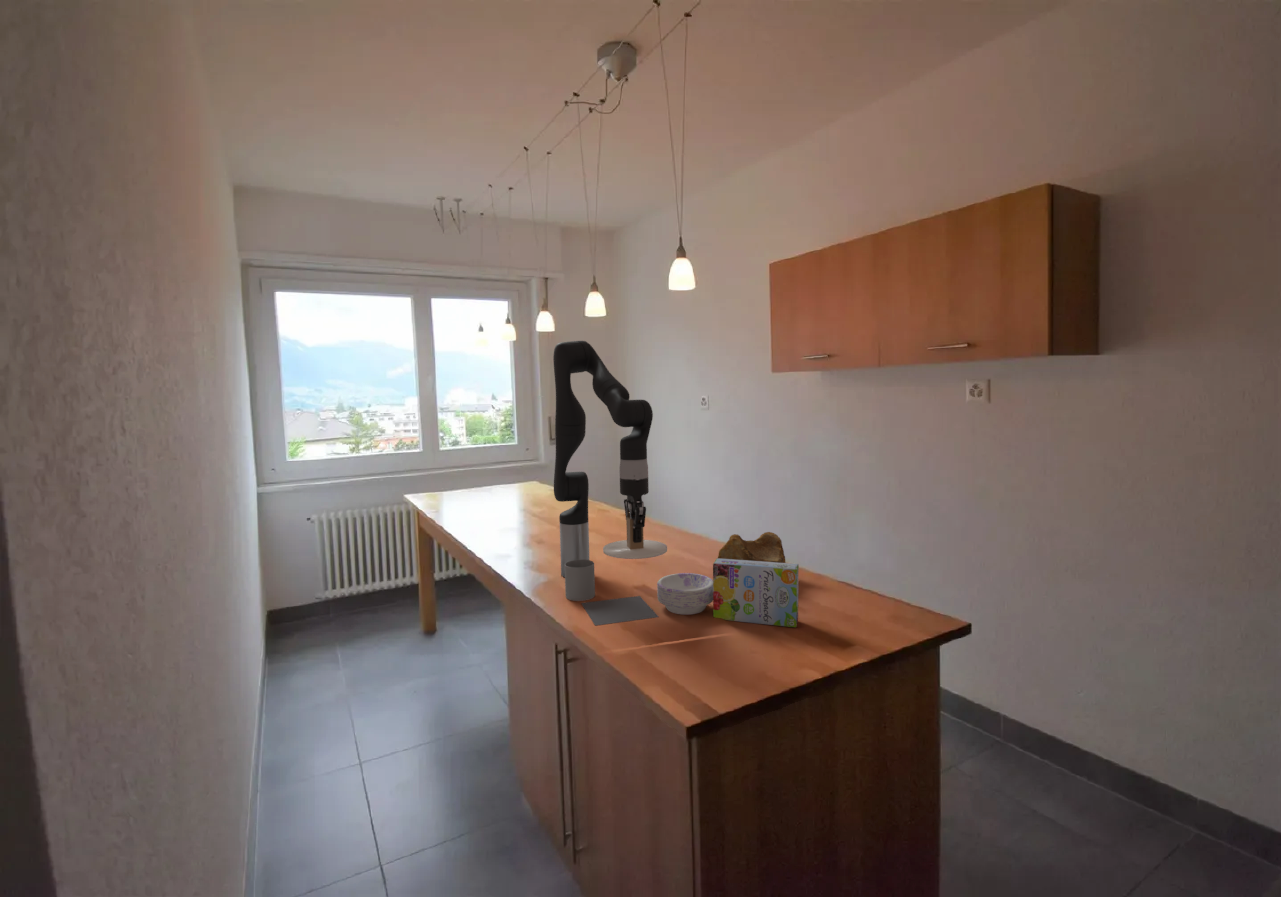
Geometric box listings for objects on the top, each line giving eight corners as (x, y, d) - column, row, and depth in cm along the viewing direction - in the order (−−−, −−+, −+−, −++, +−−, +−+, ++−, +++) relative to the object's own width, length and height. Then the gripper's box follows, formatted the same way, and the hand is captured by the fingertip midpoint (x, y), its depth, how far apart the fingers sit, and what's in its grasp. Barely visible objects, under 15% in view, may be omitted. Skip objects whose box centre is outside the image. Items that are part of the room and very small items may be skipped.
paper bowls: (649, 615, 162) (648, 586, 161) (668, 597, 176) (668, 570, 175) (705, 623, 156) (704, 593, 155) (720, 603, 170) (720, 575, 169)
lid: (597, 545, 169) (596, 513, 168) (656, 540, 173) (655, 509, 173) (611, 561, 153) (610, 526, 152) (676, 555, 157) (675, 521, 156)
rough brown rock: (745, 602, 173) (750, 551, 170) (708, 582, 187) (712, 534, 184) (803, 589, 185) (808, 541, 183) (765, 571, 199) (769, 526, 197)
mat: (581, 604, 171) (581, 603, 171) (639, 597, 176) (639, 595, 176) (595, 627, 155) (595, 625, 155) (659, 618, 160) (659, 616, 160)
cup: (590, 603, 172) (589, 568, 171) (561, 601, 173) (560, 567, 172) (598, 593, 180) (597, 560, 179) (571, 591, 182) (570, 558, 181)
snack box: (798, 620, 157) (799, 563, 155) (796, 629, 152) (797, 569, 150) (716, 612, 164) (716, 556, 162) (712, 619, 159) (711, 562, 157)
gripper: (613, 473, 167) (615, 535, 169) (626, 480, 153) (628, 548, 155) (640, 472, 169) (641, 533, 171) (655, 478, 155) (656, 545, 157)
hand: (635, 540), depth 163 cm, fingers closed on lid, 3 cm apart
